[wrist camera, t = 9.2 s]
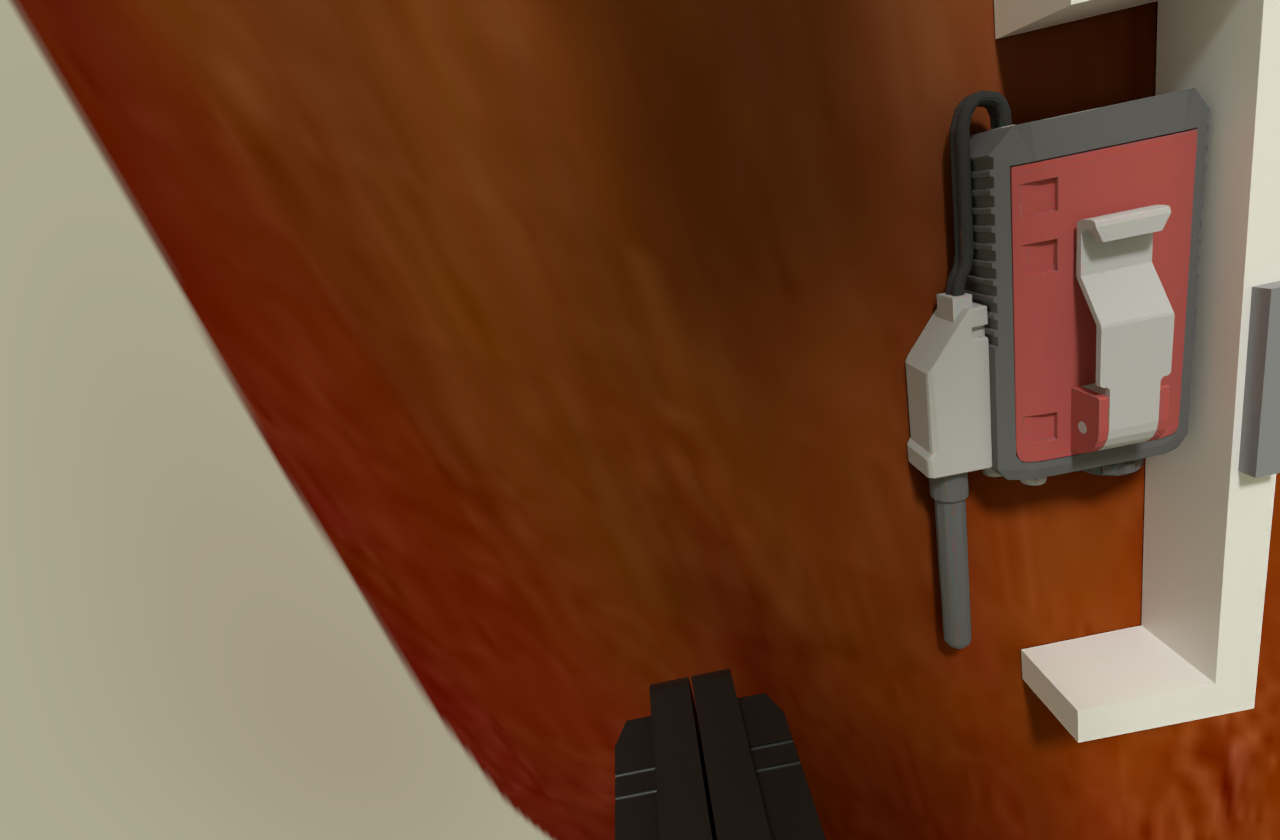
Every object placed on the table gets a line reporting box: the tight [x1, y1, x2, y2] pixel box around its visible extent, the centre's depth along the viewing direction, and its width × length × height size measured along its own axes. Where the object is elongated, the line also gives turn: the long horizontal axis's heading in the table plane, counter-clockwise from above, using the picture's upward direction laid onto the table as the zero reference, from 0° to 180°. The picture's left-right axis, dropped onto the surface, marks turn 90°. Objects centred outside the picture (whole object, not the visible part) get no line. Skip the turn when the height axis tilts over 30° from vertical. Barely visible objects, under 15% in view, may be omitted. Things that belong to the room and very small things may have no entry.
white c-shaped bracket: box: [994, 0, 1280, 743], centre depth 21 cm, size 26×6×4 cm, turn 12°
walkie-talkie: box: [906, 88, 1210, 649], centre depth 22 cm, size 9×4×20 cm
